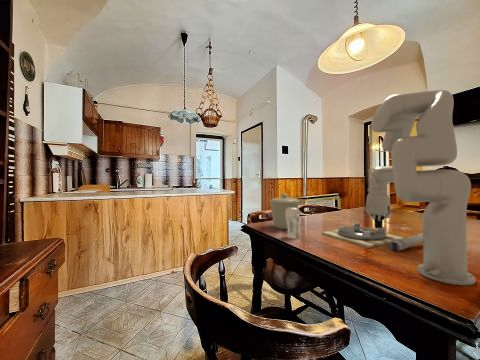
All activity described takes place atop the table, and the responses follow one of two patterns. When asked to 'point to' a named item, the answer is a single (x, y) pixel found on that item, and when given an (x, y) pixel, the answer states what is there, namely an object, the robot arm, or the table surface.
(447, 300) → the table surface
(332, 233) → the nut board
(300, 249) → the table surface
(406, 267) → the table surface
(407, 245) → the grey flashlight
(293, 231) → the beer glass
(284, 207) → the canister
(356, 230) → the ring nut
